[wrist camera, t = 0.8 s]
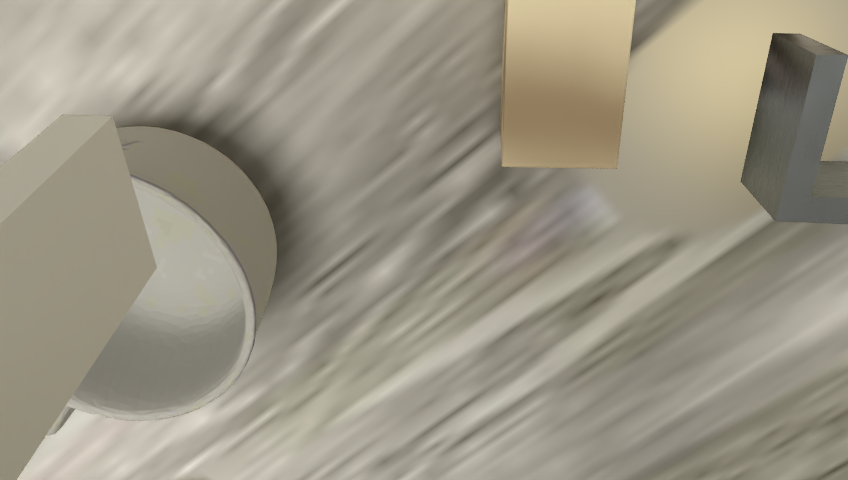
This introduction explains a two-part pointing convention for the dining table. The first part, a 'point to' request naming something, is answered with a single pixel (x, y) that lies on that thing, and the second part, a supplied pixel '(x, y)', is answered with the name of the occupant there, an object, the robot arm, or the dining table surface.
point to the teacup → (184, 283)
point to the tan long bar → (564, 82)
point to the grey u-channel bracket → (797, 134)
